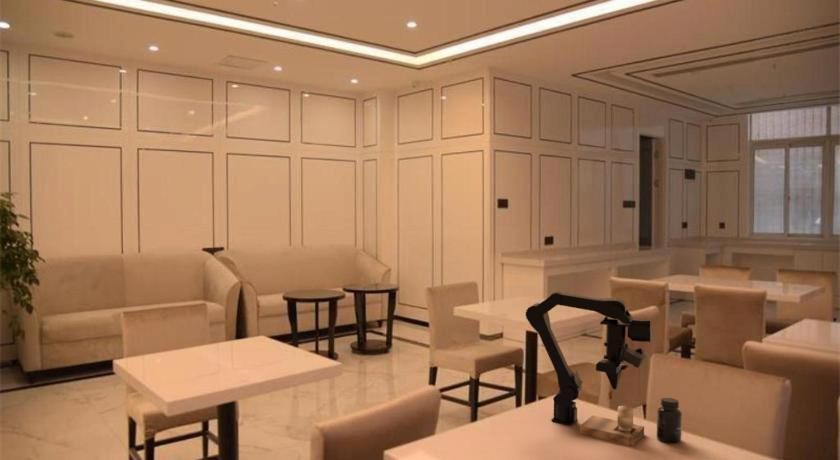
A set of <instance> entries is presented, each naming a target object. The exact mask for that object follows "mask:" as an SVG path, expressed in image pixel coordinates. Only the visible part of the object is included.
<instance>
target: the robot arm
mask: <svg viewBox="0 0 840 460" xmlns="http://www.w3.org/2000/svg"><path fill="white" fill-rule="evenodd" d="M557 306H561V307H563V306H564V307H569V308H575V309H579V310H585V311H592V312H595V313H598V314H600V315H602V316H603V317H604V316H605V317H604V318H603V319H602V320H600V322H599V324H600V325H606V335H605V336H606V337H605V340H606V341H605V342H603V346H604V347H605V354H604V355H603V359H601V360H599V361H598V362H597V363H595V371H596V372H601V373H605V375H606V376H607V379H608V381H609V383H610V386H611V388H612V389H613V390H618V386H619V384H620V383H619V382H620V379H621V376H622V374H623V371H625V370H626V369H627V368H629V366H628V365H626V364H625V363H624V362H626V363H628V364H630V365H632V366H633V367H635V368H640V367H642V365H643V364H644V361H645V360H646V354H645V351H644V349H643V348H641V347H638V348H636V349H634V348H630V347H629V343H628V342H627V341H626V340H627V339H626V338H628V339H630V340H631V342H639V343H640V342H641V343H650V344H651V343H652V337H653V335H652V334H653V333H652V332H653V329H652V320H651V319H635V318H634V317H633V316H632V314H631V313H630V312H629V310H628V305H627V303H626V302H625V300H624V299H623V298H621V297H602V298H596V297H590V296H584V295H577V294H571V293H568V292H567V293H566V292H562V291H559V290H558V291H554V292H552V293H551V294H550V296H548V297H546V299H544V300H543V301H541V302H536V303H534V304H532V305H531V306H529V307H527V309H526V311H525V319H526V320H527V321H528V323H529V324H530V326H531V327H532V329H534V330H535V332H536V333H537V334H538V335H539V336H538V337H539V338H540V340H541V342H542V344H543V346H544V349H545V351H546V353H547V355H548V358H549V360H550V362H551V364H552V367H553V368H554V372H555V373H556V376H557V385H558V387H559V390H558V391H557V393H556V394H555V395H554V396H553V398H552V399H553V417H552V418H551V421H552V422H554V423H559V424H563V425H567V426H571V425H573V424H574V423H575V422H577V421H578V407H576V406H577V403H576V401H575V400H577V399H578V397H579V396H580V395H581V393H582V390H583V385H582V384H583V382H584V381H582V380H581V378H580V374H579V372H578V371H577V370H576V371H575V372H573V371H572V369H570V367H569V365H568V363H567V360H566V359H565V357H564V355H563V354H564V353H563V352H562V350H561V347H560V345H559V343H558V341H557V339H556V337H555V334H554V332H553V330H552V327H551V321H550V320H551V319H550V316H549V312H550V311H552V309H553V308H555V307H557ZM626 331H627V332H626ZM626 333H627V334H626ZM626 335H627V337H626ZM624 364H625V365H624Z"/></svg>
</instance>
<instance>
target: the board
mask: <svg viewBox="0 0 840 460" xmlns="http://www.w3.org/2000/svg"><path fill="white" fill-rule="evenodd" d="M617 422H618V420H616V419H611V418H607V417H602V416H597V415H591V416H590V417H588V419H586V420H585V421H584V422H583V423H581V424H580V425H579V434H580V435H584V436H588V437H593V438H597V439H601V440H605V441H609V442H613V443H618V444H622V445H626V446H629V447H635V445H636V444H637V443H638V442H639V441H640V440H641V439H642V438H643V437H644V435H645V426H643V425H639V424H634V423H633V426H632V428H631V429H632V431H631V434H627V433H623V432H619V425H618V424H617Z"/></svg>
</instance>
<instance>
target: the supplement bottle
mask: <svg viewBox="0 0 840 460" xmlns="http://www.w3.org/2000/svg"><path fill="white" fill-rule="evenodd" d="M679 405H680V403H679V400H678V399H676V398H672V397H663V398H661V400H660V407H658V409H657V410H656V411H657V413H656V438H657V439H658V440H659V441H660V442H662V443H665V444H666V443H667V444H673V445H674V444H679V443H681V441H682V425H683V424H682V423H683V413H682V411H681V410H680V409H679V408H680V406H679Z"/></svg>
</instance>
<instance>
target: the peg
mask: <svg viewBox="0 0 840 460" xmlns="http://www.w3.org/2000/svg"><path fill="white" fill-rule="evenodd" d="M617 421H618V422H617V424H618V425H619V432H623V433H627V434H631V431H632V429H631V428H632V426H633V424H634V407H631V406H629V405H618V406H617Z"/></svg>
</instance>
